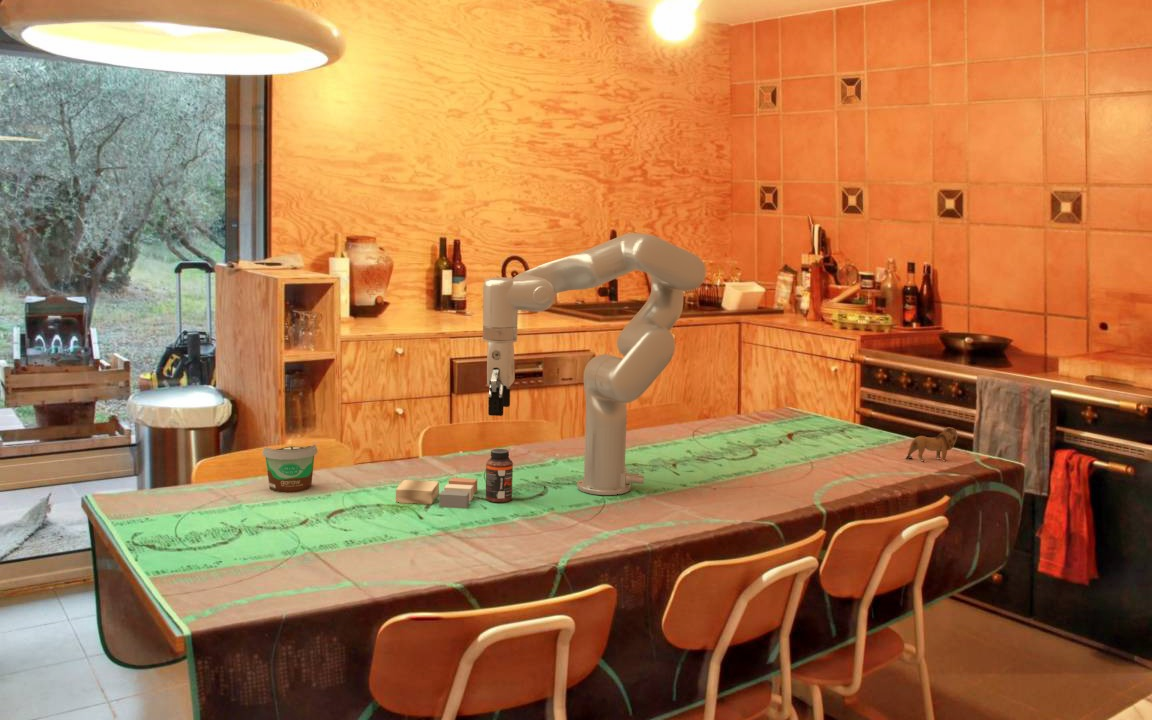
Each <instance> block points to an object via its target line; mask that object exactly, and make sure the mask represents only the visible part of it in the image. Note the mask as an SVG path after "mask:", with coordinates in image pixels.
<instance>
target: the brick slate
mask: <svg viewBox="0 0 1152 720" xmlns="http://www.w3.org/2000/svg"><path fill="white" fill-rule="evenodd" d="M438 498H439V501H438V502H439V503H438V507H439V508H453V509H467V508H468V507H469V505H470V501H469V492H458V491H444V490H442V491H440V492H439V495H438Z"/></svg>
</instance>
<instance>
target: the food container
mask: <svg viewBox="0 0 1152 720" xmlns="http://www.w3.org/2000/svg"><path fill="white" fill-rule="evenodd" d="M317 454H319V453H318V447H317V445H316V443H315V441H314V442H313V445H309V446H292V445H291V446H286V447H285V446H284V447H281V448H276V449H275V448H269V447H267V446H264V448H263V450H262V454H261V455H262V457H264V458H265V462H266V472H267V479H268V485H269V486H268V487H269V489H270V490H271V491H273V492H277V493H284V494H285V493H286V494H290V493H300V492H305V491H307V490H310V489H311V488H312V484H313V475H314V474H313V473H314V463H315V455H317Z"/></svg>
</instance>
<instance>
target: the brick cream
mask: <svg viewBox="0 0 1152 720" xmlns="http://www.w3.org/2000/svg"><path fill="white" fill-rule="evenodd" d="M443 491H458V492H469V502H471V501H472V500H473V499H474V494H473V485H458V484H449V483H447V484H446V485H445V486H444V488H443Z"/></svg>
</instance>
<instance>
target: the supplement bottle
mask: <svg viewBox="0 0 1152 720" xmlns="http://www.w3.org/2000/svg"><path fill="white" fill-rule="evenodd" d="M485 466H486V467H485V499H486V501H488V502H491V503H499V504H500V503H502V504H503V503H507V502H510V501H511V500H512V499H513V476H514V475H513V471H514V470H513V469H514V468H513V467H514V463H513V461H512V460H511V459H510V450H508V449H505V448H493V449H491V450H490V458H489V459H487V460H486V465H485Z"/></svg>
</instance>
